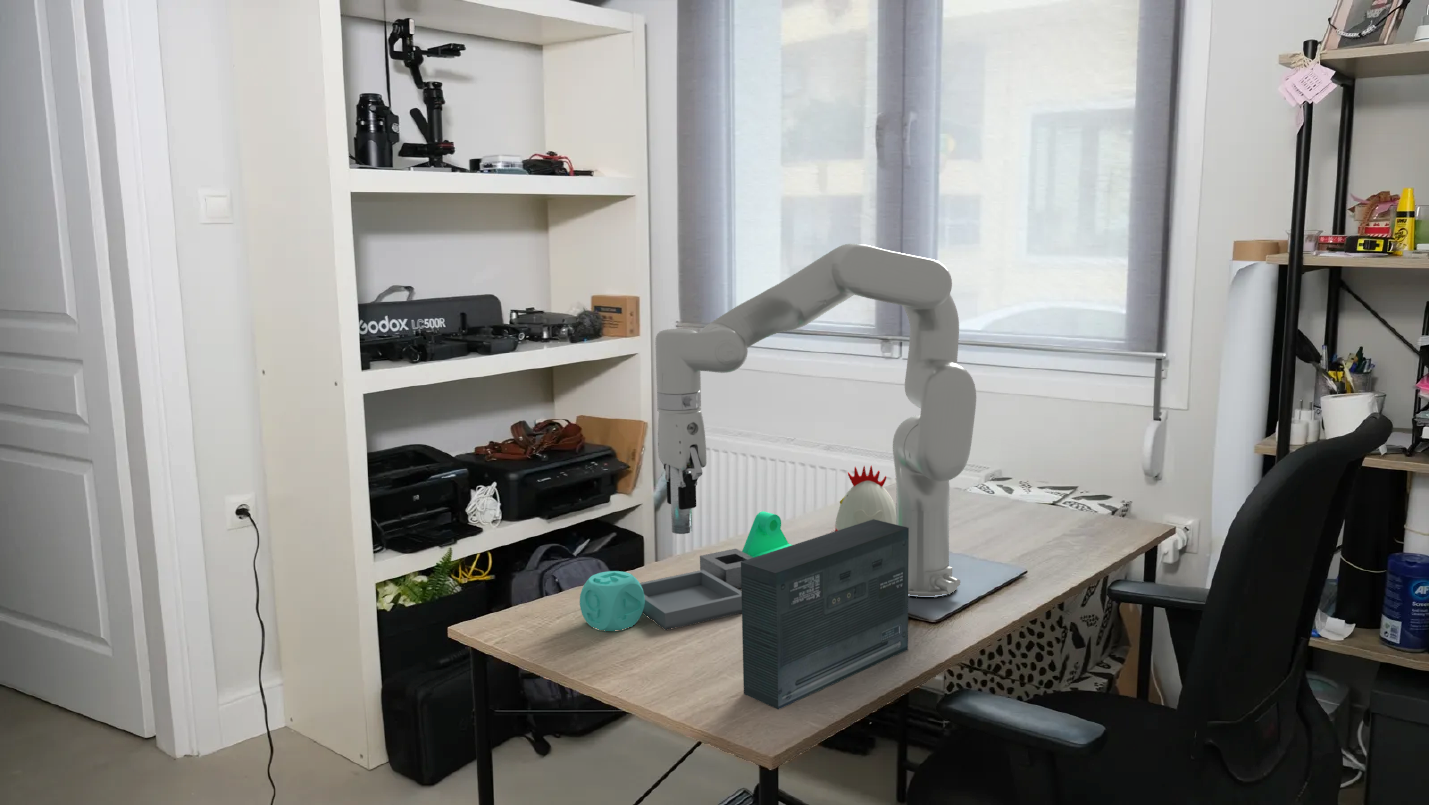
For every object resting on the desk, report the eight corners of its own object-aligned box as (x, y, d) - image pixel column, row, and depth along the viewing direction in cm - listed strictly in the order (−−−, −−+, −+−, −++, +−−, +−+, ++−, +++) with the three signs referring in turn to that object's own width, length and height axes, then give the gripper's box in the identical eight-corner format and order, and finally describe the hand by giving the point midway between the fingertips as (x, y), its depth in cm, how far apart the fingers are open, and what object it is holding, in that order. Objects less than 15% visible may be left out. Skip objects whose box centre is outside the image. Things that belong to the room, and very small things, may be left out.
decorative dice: (646, 621, 183) (644, 576, 182) (612, 636, 177) (610, 589, 176) (613, 611, 189) (611, 567, 187) (579, 625, 183) (577, 580, 181)
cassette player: (873, 638, 174) (873, 519, 170) (907, 650, 169) (908, 527, 165) (743, 694, 155) (740, 561, 151) (778, 710, 150) (776, 573, 146)
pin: (695, 531, 187) (694, 457, 184) (677, 535, 185) (675, 460, 183) (686, 526, 190) (684, 454, 187) (668, 530, 188) (666, 456, 186)
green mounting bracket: (768, 577, 204) (767, 525, 203) (740, 568, 210) (739, 517, 208) (811, 562, 212) (810, 512, 210) (783, 554, 218) (782, 505, 216)
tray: (747, 611, 187) (747, 594, 186) (665, 630, 179) (665, 613, 178) (703, 585, 200) (703, 569, 200) (625, 601, 193) (625, 586, 192)
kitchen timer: (834, 524, 237) (834, 458, 235) (897, 524, 236) (898, 458, 233) (835, 543, 224) (835, 473, 221) (902, 544, 222) (903, 473, 220)
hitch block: (763, 582, 201) (763, 562, 200) (726, 590, 197) (725, 570, 196) (736, 568, 210) (735, 548, 209) (700, 575, 206) (699, 555, 205)
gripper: (722, 406, 178) (724, 513, 181) (676, 393, 192) (678, 492, 195) (682, 411, 174) (684, 520, 178) (638, 397, 189) (641, 498, 192)
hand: (681, 504), depth 186 cm, fingers closed on pin, 3 cm apart
